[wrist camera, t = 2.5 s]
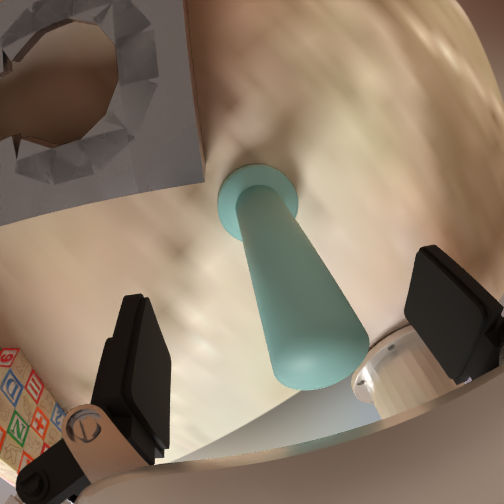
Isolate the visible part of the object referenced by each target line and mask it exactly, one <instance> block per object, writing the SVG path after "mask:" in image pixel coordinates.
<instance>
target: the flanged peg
mask: <svg viewBox="0 0 504 504" xmlns="http://www.w3.org/2000/svg"><path fill="white" fill-rule="evenodd" d="M297 211H298V197H297V193H296V190H295V188H294V186H293V185H292V183H291V182H290V181H289V179H288V178H287V177H286V176H285V175H284V174H283V173H282V172H280V171H279V170H278V169H276V168H274V167H272V166H269V165H265V164H250V165H246V166H243V167H241V168H238V169H237V170H235V171H234V172H232V173H231V174H230V175H229V176H228V177H227V178H226V179H225V181H224V182H223V184H222V186H221V188H220V190H219V194H218V213H219V218H220V220H221V223H222V225H223V227H224V228H225V229H226V231H227V232H228V233H229V234H230V235H232V236H233V237H234V238H236V239H238V240H240V241H242V242H243V245H244V249H245V254H246V258H247V262H248V267H249V271H250V275H251V279H252V284H253V288H254V292H255V296H256V301H257V305H258V309H259V313H260V318H261V322H262V326H263V330H264V334H265V339H266V343H267V347H268V351H269V355H270V360H271V364H272V368H273V372H274V375H275V377H276V378H277V380H278V381H279V382H280V383H281V384H283V385H284V386H286V387H289V388H292V389H296V390H315V389H320V388H324V387H327V386H330V385H333V384H335V383H337V382H339V381H341V380H343V379H344V378H346V377H347V376H349V375H350V374H351V373H353V372H354V371H355V370H356V369H357V368H358V367H359V366H360V365H361V363H362V362H363V360H364V359H365V357H366V355H367V353H368V349H369V337H368V334H367V332H366V330H365V329H364V327H363V325H362V324H361V322H360V320H359V319H358V317H357V315H356V314H355V312H354V310H353V309H352V307H351V306H350V304H349V302H348V301H347V299H346V297H345V296H344V294H343V293H342V291H341V289H340V288H339V286H338V284H337V283H336V281H335V280H334V278H333V277H332V275H331V273H330V272H329V270H328V269H327V267H326V265H325V264H324V262H323V261H322V259H321V258H320V256H319V255H318V253H317V251H316V250H315V248H314V247H313V245H312V244H311V242H310V241H309V239H308V238H307V236H306V235H305V233H304V232H303V230H302V229H301V227H300V226H299V224H298V223H297V221H296V220H295V218H296V215H297Z"/></svg>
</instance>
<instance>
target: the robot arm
mask: <svg viewBox="0 0 504 504" xmlns="http://www.w3.org/2000/svg"><path fill="white" fill-rule="evenodd" d="M503 308H504V307H503V306H502V305H501V304H500V303H499V302H498V301H497V300H496V299H495V298H494V297H493V296H492V295H491V294H490V293H489V292H488V291H487V290H485V289H484V288H483V287H482V286H481V285H480V284H479V283H478V282H477V281H476V280H475V279H474V278H473V277H472V276H471V275H469V274H468V273H467V272H466V271H465V270H464V269H463V268H462V267H461V266H459V265H458V264H457V263H456V262H455V261H454V260H453V259H451V258H450V257H449V256H448V255H447V254H446V253H445V252H443V251H442V250H441V249H440V248H439V247H437V246H436V245H429V246H424V247H421V248H420V249H419V252H417V254H416V257H415V262H414V268H413V272H412V277H411V282H410V287H409V291H408V295H407V300H406V304H405V308H404V314H405V317H406V319H407V320H408V321H409V323H410V324H411V325H410V326H407V327H404V328H402V329H400V330H398V331H396V332H394V333H392V334H391V335H389V336H387V337H386V338H385V339H383V340H382V341H380V342H379V343H378V344H377V345H376V346H374V347H373V348H372V349H371V350H370V351H369V352H368V353H367V355H366V357H365V359H364V360H363V362H362V363H361V365H360V366H359V367H358V368H357V369H356V370H355V371H354V373H353V377H352V380H351V386H352V389H353V392H354V394H355V395H356V397H357V398H358V399H359V400H360V401H363V402H366V403H374V404H375V407H376V409H377V410H378V413H379V415H380V417H381V419H382V420H379V421H377V422H374V423H371V424H368V425H365V426H362V427H358V428H355V429H352V430H349V431H345V432H342V433H338V434H335V435H331V436H328V437H324V438H320V439H316V440H312V441H308V442H304V443H300V444H296V445H291V446H286V447H281V448H276V449H271V450H265V451H260V452H254V453H247V454H242V455H236V456H228V457H221V458H212V459H203V460H193V461H184V462H175V463H165V464H158V465H154V464H155V458H164V449H169V445H170V385H171V357H170V354H169V351H168V349H167V346H166V343H165V341H164V338H163V335H162V333H161V330H160V327H159V325H158V322H157V319H156V316H155V313H154V311H153V308H152V305H151V302H150V299H149V298H148V297H145V298H144V297H143V295H142V294H134V295H126V296H124V298H123V301H122V305H121V308H120V312H119V315H118V319H117V322H116V326H115V330H114V333H113V337H111V338H108V339H107V340H106V342H105V346H104V349H103V353H102V357H101V361H100V365H99V369H98V373H97V377H96V381H95V386H94V390H93V394H92V399H91V404H85V405H80V406H77V407H75V408H73V409H72V410H71V411H70V412H69V413H67V415H66V416H65V418H64V419H63V423H62V426H61V433H62V436H63V438H62V439H61V440H59V441H58V442H57V443H55V444H54V445H53V446H51V447H50V448H49V449H47V450H46V451H45V452H44V453H42V454H41V455H40V456H38V457H37V458H36V459H34V460H33V461H32V462H30V463H29V464H28V465H26V466H25V467H24V468H23V469H22V470H21V471H20V472H19V474H18V476H17V479H16V491H17V494H16V496H15V497H14V496H13V495H11V496H10V497H9V498H8V500H7V501H6V503H5V504H504V317H502V316H501V313H502V311H503ZM469 377H471V379H472V381H471V382H469V383H467V384H465V383H464V382H465V381H467V380H468V378H469Z"/></svg>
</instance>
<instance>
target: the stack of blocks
mask: <svg viewBox="0 0 504 504" xmlns="http://www.w3.org/2000/svg"><path fill="white" fill-rule="evenodd" d="M65 416H66V414H65V413H64V411H63V410H62V409H61V408H60V406H59V405H58V404H57V403H56V402H55V400H54V399H53V397H52V396H51V395H50V393H49V392H48V391H47V389H46V388H45V387H44V384H43V383H42V382H41V380H40V379H39V377H38V376H37V374H36V373H35V371H34V370H33V368H32V367H31V365H30V363H29V362H28V360H27V359H26V357H25V356H24V354H23V352H22V351H21V349H13V348H2V349H0V477H1V478H3V479H4V480H5V481H7V482H8V483H9V484H11V485H12V486H14V487H16V479H17V476H18V474H19V472H20V471H21V470H22V469H23V468H24V467H25V466H26V465H28V464H29V463H30V462H32V461H33V460H34V459H36V458H37V457H38V456H40V455H41V454H42V453H44V452H45V451H46V450H47V449H49V448H50V447H51V446H53V445H54V444H55V443H57V442H58V441H59V440H61V439H62V438H63V436H62V433H61V426H62V423H63V419H64V418H65Z"/></svg>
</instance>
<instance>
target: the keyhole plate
mask: <svg viewBox="0 0 504 504" xmlns="http://www.w3.org/2000/svg"><path fill="white" fill-rule="evenodd" d="M74 21H75V22H81V23H86V24H92V25H97V26H99V27H100V28H101V29H102V31H103V32H104V33H105V34H106V35H107V36H108V37H109V39H110V40H111V41H112V42H113V43H114V44H115V48H116V58H117V67H118V76H119V81H118V83H117V86H116V88H115V91H114V93H113V96H112V99H111V102H110V104H109V107H108V110H107V113H106V115H105V116H104V117H103V118H102V119H101V120H100V121H99V122H98V123H97V124H96V125H95V126H94V127H93V128H92V129H91V130H90V131H89V132H88V133H87V134H86V135H85V136H84V137H83V138H82V139H79V140H75V141H72V142H69V143H65V144H62V145H56V144H53V143H50V142H47V141H43V140H40V139H37V138H33V137H30V136H29V137H26V138H23V139H22V138H21V133H20V134H17V135H13V136H11V137H8V138H6V139H4V140H2V141H0V226H3V225H6V224H10V223H13V222H17V221H20V220H24V219H28V218H32V217H35V216H39V215H43V214H47V213H51V212H55V211H59V210H63V209H67V208H72V207H76V206H80V205H85V204H89V203H94V202H98V201H103V200H108V199H113V198H118V197H123V196H128V195H133V194H138V193H143V192H149V191H154V190H160V189H165V188H171V187H177V186H183V185H189V184H196V183H202V182H205V167H206V163H205V156H204V149H203V142H202V134H201V127H200V119H199V111H198V103H197V95H196V87H195V78H194V70H193V61H192V52H191V43H190V33H189V23H188V13H187V2H186V0H2V1H0V78H1V77H3V76H5V75H7V74H9V73H10V72H12V61H16V62H20V61H21V60H22V59H23V58H24V56H25V55H26V54H27V53H28V52H29V51H30V49H31V48H32V47H33V46H34V45H35V44H36V43H37V42H38V40H39V39H40V38H41V37H42V36H43V35H44V34H45V33H47V32H49V31H51V30H54V29H56V28H58V27H61V26H63V25H66V24H69V23H71V22H74Z"/></svg>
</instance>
